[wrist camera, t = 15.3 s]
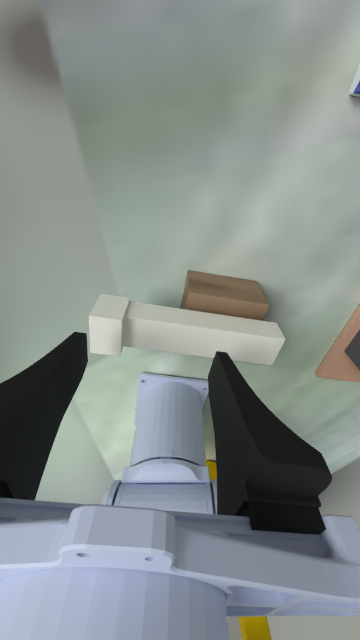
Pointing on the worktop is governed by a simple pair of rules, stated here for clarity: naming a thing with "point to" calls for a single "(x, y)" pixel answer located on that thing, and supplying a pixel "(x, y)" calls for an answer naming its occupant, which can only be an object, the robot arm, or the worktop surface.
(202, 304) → the block
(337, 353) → the mat
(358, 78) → the hard drive
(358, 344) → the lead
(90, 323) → the strap
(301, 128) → the worktop surface
